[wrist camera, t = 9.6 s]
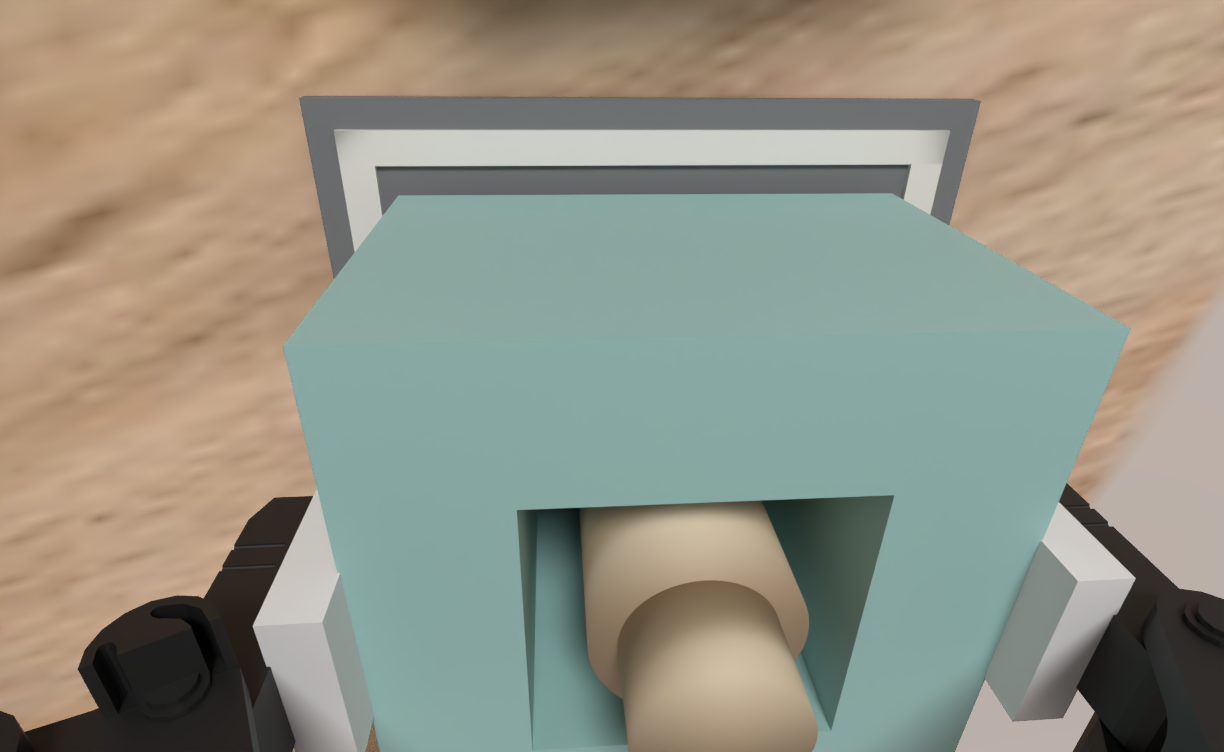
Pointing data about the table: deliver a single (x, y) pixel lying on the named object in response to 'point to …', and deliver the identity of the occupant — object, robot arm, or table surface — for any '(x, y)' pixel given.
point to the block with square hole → (685, 443)
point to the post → (697, 627)
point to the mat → (626, 150)
